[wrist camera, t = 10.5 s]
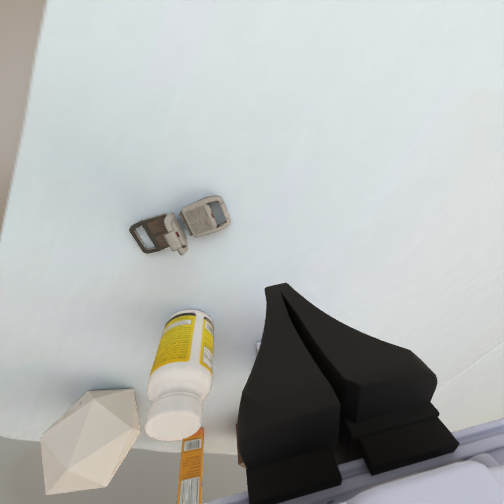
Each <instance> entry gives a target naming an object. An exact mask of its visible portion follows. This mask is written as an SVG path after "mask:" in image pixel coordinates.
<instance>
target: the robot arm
mask: <svg viewBox="0 0 504 504" xmlns="http://www.w3.org/2000/svg"><path fill="white" fill-rule="evenodd" d="M265 295H266V301H267V307H266V319H265V326H264V331H263V336H262V340H261V342H258V343H257V344H256V347H257V351H258V354H257V357H256V360H255V363H254V366H253V368H252V371H251V374H250V376H249V378H248V380H247V383H246V385H245V387H244V389H243V392H242V396H241V402H240V407H239V414H238V423H237V435H238V447H239V453H240V455H241V457H242V460H243V462H244V465H245V467H246V473H247V485H248V491H245V492H242V493H238V494H234V495H231V496H227V497H224V498H220V499H217V500H213V501H210V502H206V503H203V504H504V418H501V419H498V420H494V421H491V422H487V423H484V424H480V425H477V426H473V427H470V428H466V429H463V430H459V431H456V432H452V433H451V432H450V431H449V430H448V429H447V428H446V426H445V425H444V424H443V423H442V422H441V420H440V419H439V418H438V416H439V412H438V410H437V409H436V408H435V407H434V406H433V405H432V403H431V402H430V401H431V399H432V396H433V394H434V392H435V389H436V386H437V377H436V375H435V374H434V373H433V372H432V371H431V370H430V369H429V368H428V367H427V365H426V364H425V363H424V362H423V361H422V360H421V359H420V358H418V357H417V356H416V355H415V354H414V353H413V352H412V351H411V350H408V349H405V348H402V347H399V346H396V345H393V344H390V343H387V342H384V341H381V340H379V339H376V338H374V337H371V336H369V335H366V334H364V333H362V332H360V331H357V330H355V329H353V328H351V327H349V326H347V325H345V324H343V323H341V322H339V321H338V320H336V319H334V318H332V317H331V316H329V315H327V314H326V313H324V312H323V311H321V310H320V309H318V308H317V307H315V306H314V305H313V304H311V303H310V302H309V301H307V300H306V299H305V298H304V297H302V296H301V295H300V294H299V293H298V292H296V291H295V290H294V289H293V288H292V287H291V286H290V285H289V284H287V283H282V284H278V285H273V286H269V287H266V288H265Z"/></svg>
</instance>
